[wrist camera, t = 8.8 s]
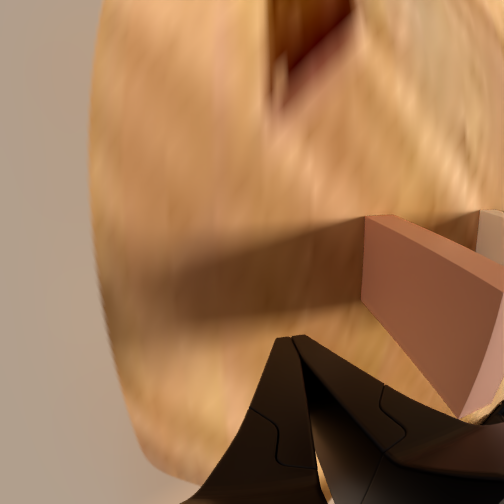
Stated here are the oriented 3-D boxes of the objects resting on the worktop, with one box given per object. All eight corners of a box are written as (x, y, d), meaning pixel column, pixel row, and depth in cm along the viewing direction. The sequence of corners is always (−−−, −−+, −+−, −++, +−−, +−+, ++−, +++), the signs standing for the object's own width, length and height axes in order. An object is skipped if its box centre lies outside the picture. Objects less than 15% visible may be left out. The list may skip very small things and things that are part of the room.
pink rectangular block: (393, 214, 14) (534, 283, 6) (386, 296, 16) (491, 403, 7) (364, 216, 14) (503, 292, 6) (360, 300, 16) (458, 419, 7)
